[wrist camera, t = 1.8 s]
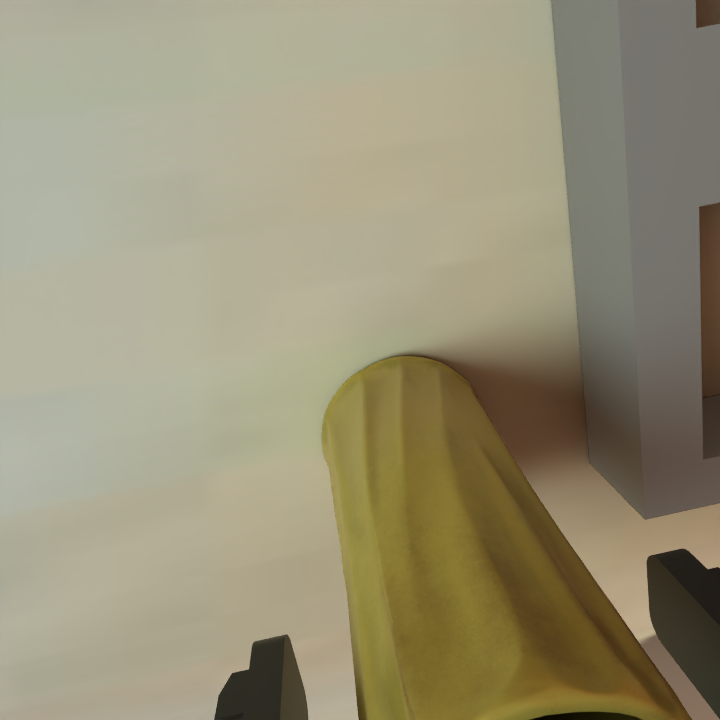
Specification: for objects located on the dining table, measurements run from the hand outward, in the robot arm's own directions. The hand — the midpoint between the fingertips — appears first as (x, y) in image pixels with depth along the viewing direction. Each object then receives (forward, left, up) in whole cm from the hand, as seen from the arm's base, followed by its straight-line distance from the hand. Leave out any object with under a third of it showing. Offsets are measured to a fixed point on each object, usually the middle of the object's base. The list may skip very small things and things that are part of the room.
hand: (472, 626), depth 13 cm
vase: (0, 0, -10) cm, 10 cm away
